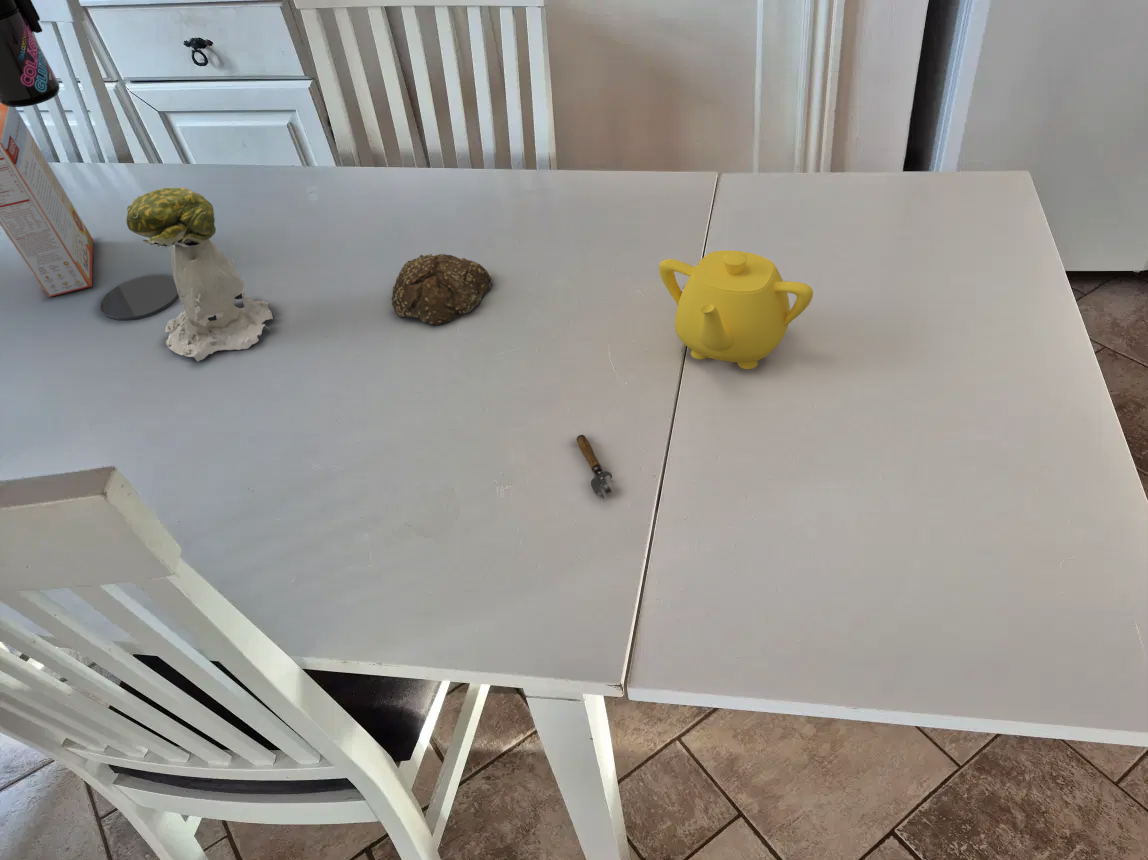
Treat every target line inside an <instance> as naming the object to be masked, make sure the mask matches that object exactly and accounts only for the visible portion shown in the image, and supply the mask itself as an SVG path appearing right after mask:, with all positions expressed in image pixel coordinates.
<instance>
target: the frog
mask: <svg viewBox="0 0 1148 860" xmlns="http://www.w3.org/2000/svg"><path fill="white" fill-rule="evenodd" d="M126 209H127V210H126V211H127V214H126V226H127V228H128V229H129V231H130V232H132V233H134V234H136V235H138V236H141V237H144V238H147V239H143V240H142V242H143V243H146V244H149V245H151V246H152V245H155V246H156V247H157V248H162V247H165V248H170V247H171V257H170V267H171V273H172V278H173V279H174V281H175V284H176V288H177V291H178V294H179V296H178V298H179V300H180V302H181V305H182V306H183V309H181V311H180V313H179V314H178V315H177V316H176V317H173V318H171V319H169V320H168V321H167V324H166V326H165V331H164V332H165V333H168V337H167V339H166V340H165V344H166V346H167V348H168V349H169V350H170V351H172V352H174V353H175V354H178V355H179V356H185V357H187V358H188V357H189V358H193V359H194V360H195V361H196V362H197V363H198V362H200V361H203V360H204V359H206V357H208V356H209V355H213V353H215V352H217V351H233V350H237V351H241V350H248V349H249V348H250V347H251V346H252V345H254V344H257V343H258V342H260V341H259V338H258V337H259V336H262V333H263V329H264V328H267V329H268V330H270V327H267V326H266V324H265V323H264V322H265V321H268V320H274V317H273V316H274V313H273V312H272V311H271V310H270V308H269V303H268V302H267V301H266V300H253V299H251V298H249V297H247V296H246V295H245V292H243V291H244V284H245V283H244V280H243V279H242V278H241V276H240V274H239V273H238V271H237V270H236V268H235V267H236V265H237V264H236V263H235V260H234V259H232V258H231V259H228V256H226V255H225V253H224V252H223V251H222V250H221V249H220V248H219V247H218V246H217V245H216V244H215V243H214V242H213V241H211V238H212V237H213V236H214V235H215V234H216V231H217V229H216V226H215V221H216V219H215V210H214V206H213V204H212V203H211V202H210V201H209V200H207V199H206V198H205V197H204V195H203V194H201V193H198V192H195V191H193V190H191V189H189V188H186V187H163V188H159V189H156V190H153V191H150V192H148V193H144V194H142V195H140V196H137V197H136V198H135V199H134V200H133V201H132V204H130V205H128V206H127V208H126ZM231 261H232V262H231ZM235 300H237V301H238V300H242V303H243V307H238V306H236V305H235ZM214 317H216V319H214V320H209V318H214Z"/></svg>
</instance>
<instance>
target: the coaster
mask: <svg viewBox="0 0 1148 860" xmlns="http://www.w3.org/2000/svg"><path fill="white" fill-rule="evenodd" d="M178 298H179V294H178V291H177V288H176V284H175V281H174V277H171V276H167V275H161V274H160V275H159V274H156V275H146V276H140V277H136V278H133V279H130V280H128V281H125V282H122V283H121V284H118V285H116V286H115V287H114V288H112V289H111V290H110V291H108V292H107V293H106V294H105V296H104V297H103V298H102V300H101V301H100V310H101V312H102V314H103V315H104V316H106V317H107V318H109V319H112V320H116V321H133V320H139V319H143V318H147V317H150V316H153V315H156V314H157V313H159V312H162V311H164V310H165V309H167V308H168V307H170V306H171V305H172V304H173V303H175V301H177V299H178Z"/></svg>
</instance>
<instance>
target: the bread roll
mask: <svg viewBox="0 0 1148 860" xmlns="http://www.w3.org/2000/svg"><path fill="white" fill-rule="evenodd" d="M491 282H492V276H491V275H490V273H489V271H488V270H487V269H486V268H485V267H484V266H483V265H482V264H480V263H478V262H476V261H474V260H471V259H466V258H465V257H462V258H459V257H457V256H454V255H452V254H446V253H439V254H435V255H433V254H426V255H423V254H420V255H419V257H416V258H413V259H412V260H407V262H405V263H404V265H403V266H402V267H401V269H400V271H399V273H398V275H397V277H396V278H395V284H394V286H393V287H392V296H391V306H392V308H393V310H394V312H395V313H396V314H397V315H398V316H399V317H401V318H414V319H415V318H416V319H418V320H421V321H422V322H424V323H425V324H428V325H431V326H432V325H433V326H439V325H443V324H446V323H449V322H451V321H453V320H454V319H455V317H458V316H461V315H464V314H467V313H469V312H471V311H473V310H474V308H476V307H477V306H478V305H479V304H480V303H481V301H482V297H483V295H484V294H485V293H486V292H488V291H490V289H491V287H492V285H491Z"/></svg>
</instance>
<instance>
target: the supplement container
mask: <svg viewBox="0 0 1148 860" xmlns="http://www.w3.org/2000/svg"><path fill="white" fill-rule="evenodd" d="M59 92H60V83H59V80H58V79H57V77H56V74H55V73H54V71H53V68H52V67H51V65H50V63H49V62H48V60H47V57H46V56H45V53H44V52H43V50H42V48H41V46H40V44H39V42H38V41H37V38H36V36H35V35H34V32H32V31H31V29H30V27H29V25H28V23H27V21H26V19H25V17H24V15H23V13H22V11H21V9H20V6H19V4H18V3H17V1H16V0H0V103H1V104H3V105H5V106H9V107H15V108H25V107H31V106H36V105H39V104H42V103H45V102H48V101H49V100H51V99H53V98H55V97H56V96H58V94H59Z"/></svg>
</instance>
